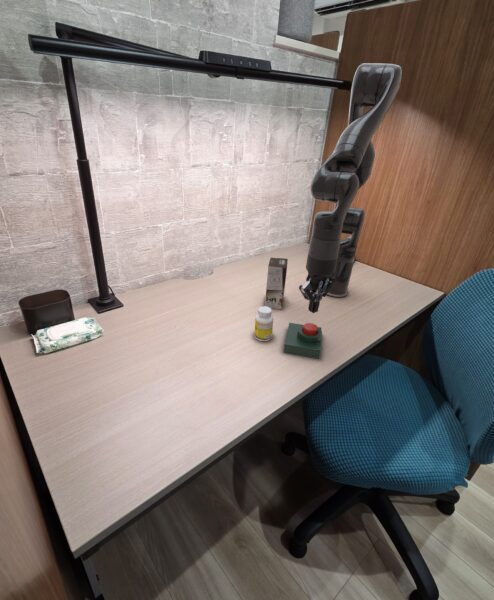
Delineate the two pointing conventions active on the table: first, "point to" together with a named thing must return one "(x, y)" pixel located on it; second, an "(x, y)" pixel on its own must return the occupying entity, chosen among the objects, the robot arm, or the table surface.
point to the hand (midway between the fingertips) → (313, 311)
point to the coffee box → (276, 282)
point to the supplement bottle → (264, 324)
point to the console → (302, 342)
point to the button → (310, 329)
